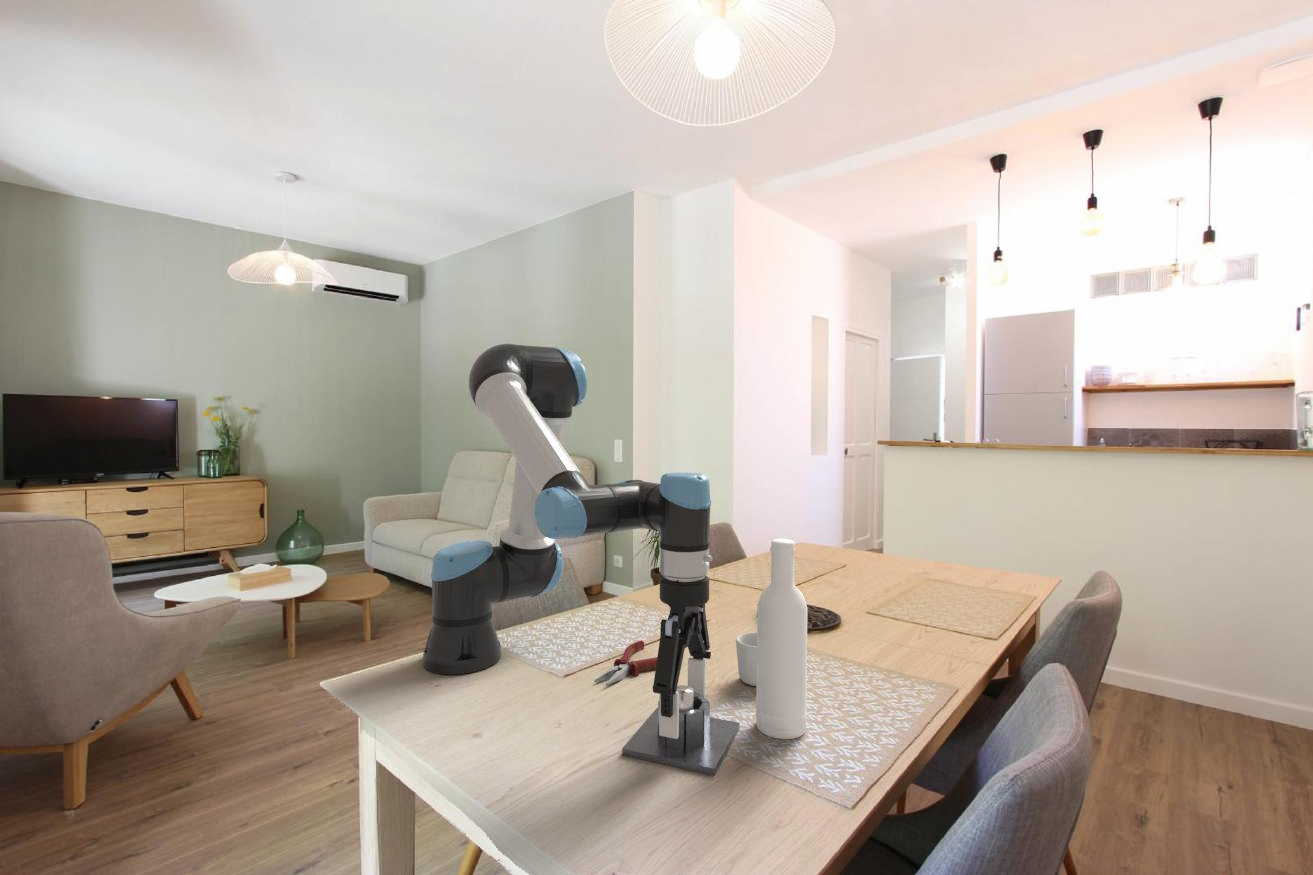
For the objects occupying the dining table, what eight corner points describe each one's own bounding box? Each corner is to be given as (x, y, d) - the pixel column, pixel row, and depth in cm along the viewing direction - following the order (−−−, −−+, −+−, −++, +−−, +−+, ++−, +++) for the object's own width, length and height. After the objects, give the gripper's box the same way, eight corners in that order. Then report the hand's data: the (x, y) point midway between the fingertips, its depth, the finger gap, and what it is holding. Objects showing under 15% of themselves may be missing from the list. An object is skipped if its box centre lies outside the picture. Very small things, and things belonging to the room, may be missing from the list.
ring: (651, 741, 92) (652, 708, 92) (669, 719, 99) (669, 688, 99) (699, 751, 89) (699, 717, 89) (714, 728, 96) (714, 696, 96)
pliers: (576, 681, 116) (576, 668, 116) (639, 649, 133) (639, 637, 133) (625, 697, 110) (625, 683, 110) (684, 661, 127) (684, 649, 126)
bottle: (816, 736, 96) (818, 544, 95) (770, 743, 93) (772, 546, 93) (790, 712, 103) (792, 534, 103) (747, 719, 101) (749, 537, 100)
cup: (796, 678, 117) (796, 636, 117) (790, 695, 110) (791, 651, 110) (740, 670, 121) (740, 629, 121) (731, 686, 113) (731, 643, 113)
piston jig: (622, 754, 90) (622, 700, 90) (657, 712, 103) (657, 665, 103) (714, 775, 85) (715, 718, 85) (739, 728, 98) (739, 679, 98)
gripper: (681, 599, 81) (680, 762, 81) (729, 560, 103) (728, 688, 104) (629, 593, 83) (628, 750, 84) (686, 557, 106) (685, 681, 106)
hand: (683, 716), depth 94 cm, fingers open, 12 cm apart
